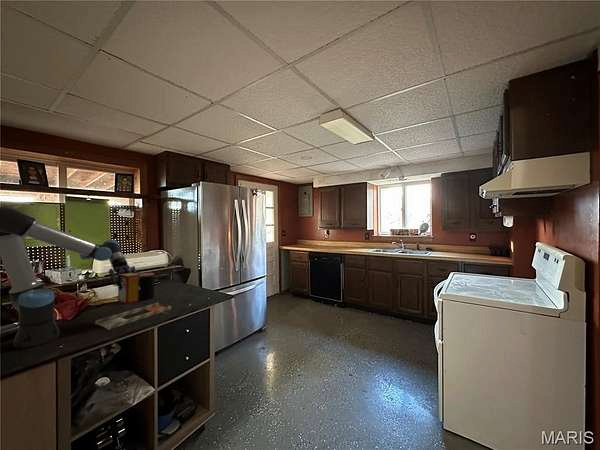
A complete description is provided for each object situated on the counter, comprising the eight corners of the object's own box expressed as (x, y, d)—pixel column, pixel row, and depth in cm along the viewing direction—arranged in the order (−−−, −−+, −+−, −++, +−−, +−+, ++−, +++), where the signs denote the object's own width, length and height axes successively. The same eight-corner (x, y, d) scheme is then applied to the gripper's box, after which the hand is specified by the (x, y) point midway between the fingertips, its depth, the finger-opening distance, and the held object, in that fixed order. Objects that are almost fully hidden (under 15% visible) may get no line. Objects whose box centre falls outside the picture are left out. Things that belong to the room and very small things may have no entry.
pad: (107, 328, 130) (107, 328, 130) (97, 324, 135) (97, 323, 135) (130, 321, 139) (130, 320, 139) (120, 317, 144) (120, 317, 144)
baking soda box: (118, 301, 143) (118, 273, 143) (130, 298, 149) (130, 272, 149) (126, 303, 138) (127, 275, 138) (138, 300, 144) (139, 273, 144)
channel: (107, 329, 128) (107, 326, 128) (95, 324, 135) (95, 320, 135) (170, 309, 159) (170, 306, 159) (158, 305, 166) (158, 302, 166)
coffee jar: (149, 295, 189) (149, 272, 189) (157, 297, 184) (157, 273, 183) (134, 299, 180) (134, 274, 180) (142, 301, 174) (141, 276, 174)
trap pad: (155, 313, 152) (155, 312, 152) (145, 310, 157) (145, 309, 157) (169, 308, 160) (169, 308, 160) (159, 305, 165) (159, 305, 165)
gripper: (133, 263, 160) (146, 291, 151) (96, 267, 142) (110, 299, 134) (137, 255, 157) (151, 284, 149) (101, 258, 140) (115, 291, 132)
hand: (131, 291), depth 142 cm, fingers closed on baking soda box, 6 cm apart
